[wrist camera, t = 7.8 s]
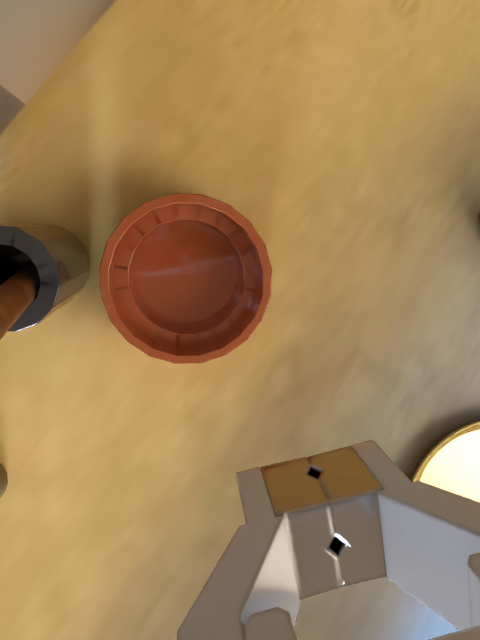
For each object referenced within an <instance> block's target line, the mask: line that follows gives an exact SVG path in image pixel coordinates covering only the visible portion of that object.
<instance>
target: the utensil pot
mask: <svg viewBox="0 0 480 640" xmlns="http://www.w3.org/2000/svg"><path fill="white" fill-rule="evenodd" d="M30 261H32V262H33V263H34V264H35V266H36V267H37V269H38V274H39V278H40V287H39V291H38V294H37V297H36V298H35V299H34V300H33V301H32V303H31V304H30V305H29V306H28V307H27V309H26V310H25V311H24V312H23V313H22V314H21V316H20V317H19V318H18V319H17V320H16V322H15V323H14V324H13V325H12V326H11V328H10V329H9V330H8V331H13V332H15V331H19V330H22V329H25V328H28V327H30V326H33V325H36V324H38V323H40V322H41V321H42V320H44V319H45V318H47V317H48V316H49V315H51V314H52V313H54V312H55V311H56V310H58V309H59V308H61V307H62V306H63V305H65V304H66V303H68V302H69V301H70V300H72V299H73V298H74V297H75V296H76V295H77V294H78V293H79V292H80V291H81V290H82V289H83V288H84V286H85V284H86V283H87V280H88V277H89V273H90V262H89V257H88V254H87V251H86V249H85V247H84V246H83V244H82V243H81V242H80V240H79V239H78V238H77V237H76V236H75V235H73V234H72V233H71V232H69V231H67V230H66V229H63V228H61V227H58V226H54V225H44V224H0V285H1V284H3V283H4V282H5V281H6V280H8V279H9V278H10V277H11V276H13V275H14V274H15V273H16V272H18V271H19V270H20V269H22V268H23V267H24V266H25V265H27V264H28V263H29V262H30Z"/></svg>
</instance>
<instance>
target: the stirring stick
mask: <svg viewBox="0 0 480 640" xmlns="http://www.w3.org/2000/svg"><path fill="white" fill-rule="evenodd" d="M39 287H40V278H39V274H38V269H37V267H36V266H35V264H34V263H33V262H32V261H30V262H29V263H28V264H27V265H25V266H24V267H23V268H22V269H20V270H19V271H18V272H16V273H15V274H14V275H13V276H11V277H10V278H9V279H8V280H6V281H5V282H4V283H3V284H1V285H0V339H1V338H2V337H3V336H4V335H5V334H6V332H7V331H8V330H9V329H10V328H11V326H12V325H13V324H14V323H15V322H16V320H17V319H18V318H19V317H20V316H21V314H22V313H23V312H24V311H25V310H26V309H27V307H28V306H29V305H30V304H31V303H32V301H33V300H34V299H35V298H36V297H37V294H38V291H39Z"/></svg>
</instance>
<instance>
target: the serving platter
mask: <svg viewBox="0 0 480 640" xmlns="http://www.w3.org/2000/svg"><path fill="white" fill-rule="evenodd" d="M417 481H421V482H424V483H426V484H429V485H432V486H435V487H438V488H441V489H443V490H446V491H449V492H452V493H455V494H458V495H461V496H463V497H466V498H469V499H472V500H475V501H478V502H480V421H476V422H473V423H470V424H467V425H465V426H463V427H460V428H458V429H457V430H455V431H453V432H451V433H450V434H448V435H447V436H445V437H444V438H443V439H441V440H440V441H439V442H438V443H437V444H436V445H434V446H433V448H432V449H431V450H430V451H429V452H428V453H427V454H426V455H425V457H424V458H423V459H422V461H421V462H420V464H419V465H418V467H417V469H416V471H415V473H414V475H413V477H412V479H411V482H417Z"/></svg>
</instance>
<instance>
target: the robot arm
mask: <svg viewBox="0 0 480 640" xmlns="http://www.w3.org/2000/svg"><path fill="white" fill-rule="evenodd" d="M236 478H237V483H238V487H239V492H240V497H241V502H242V507H243V511H244V516H245V521H246V525H242V526H239V527H238V529H237V531H236V533H235V534H234V536H233V538H232V539H231V541H230V543H229V544H228V546H227V548H226V549H225V551H224V553H223V555H222V556H221V558H220V560H219V561H218V563H217V565H216V566H215V568H214V570H213V572H212V573H211V575H210V577H209V578H208V580H207V582H206V583H205V585H204V587H203V589H202V590H201V592H200V594H199V595H198V597H197V599H196V600H195V602H194V604H193V605H192V607H191V609H190V611H189V612H188V614H187V616H186V617H185V619H184V621H183V622H182V624H181V626H180V628H179V629H178V631H177V640H297V639H296V635H295V632H294V626H295V622H296V618H297V614H298V610H299V606H300V599H303V598H307V597H310V596H313V595H317V594H320V593H323V592H326V591H330V590H333V589H336V588H339V587H343V586H347V585H351V584H356V583H360V582H364V581H368V580H372V579H377V578H381V577H385V576H387V579H389V580H390V581H392V582H393V583H394V584H396V585H397V586H399V587H400V588H401V589H403V590H404V591H405V592H407V593H408V594H410V595H411V596H412V597H414V598H415V599H417V600H418V601H419V602H421V603H422V604H424V605H425V606H426V607H428V608H429V609H431V610H432V611H433V612H435V613H436V614H437V615H439V616H440V617H442V618H443V619H444V620H446V621H447V622H449V623H450V624H451V625H453V626H454V627H456V628H457V629H458V630H460V631H457V632H453V633H450V634H446V635H443V636H439V637H436V638H432V639H429V640H480V502H478V501H475V500H472V499H469V498H466V497H463V496H461V495H458V494H455V493H452V492H449V491H446V490H443V489H441V488H438V487H435V486H432V485H429V484H426V483H424V482H421V481H417V482H411V481H410V480H409V479H408V478H407V476H406V475H405V474H404V473H403V472H402V471H401V470H400V469H399V468H398V467H397V465H396V464H395V463H394V462H393V461H392V460H391V459H390V458H389V457H388V455H387V454H386V453H385V452H384V451H383V450H382V449H381V448H380V447H379V445H378V444H377V443H376V442H375V441H373V440H368V441H364V442H361V443H357V444H354V445H350V446H348V447H344V448H340V449H336V450H332V451H329V452H325V453H321V454H317V455H314V456H310V457H303V458H298V459H294V460H289V461H284V462H280V463H275V464H271V465H266V466H261V467H260V468H259V467H256V468H252V469H248V470H244V471H240V472H236Z"/></svg>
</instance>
